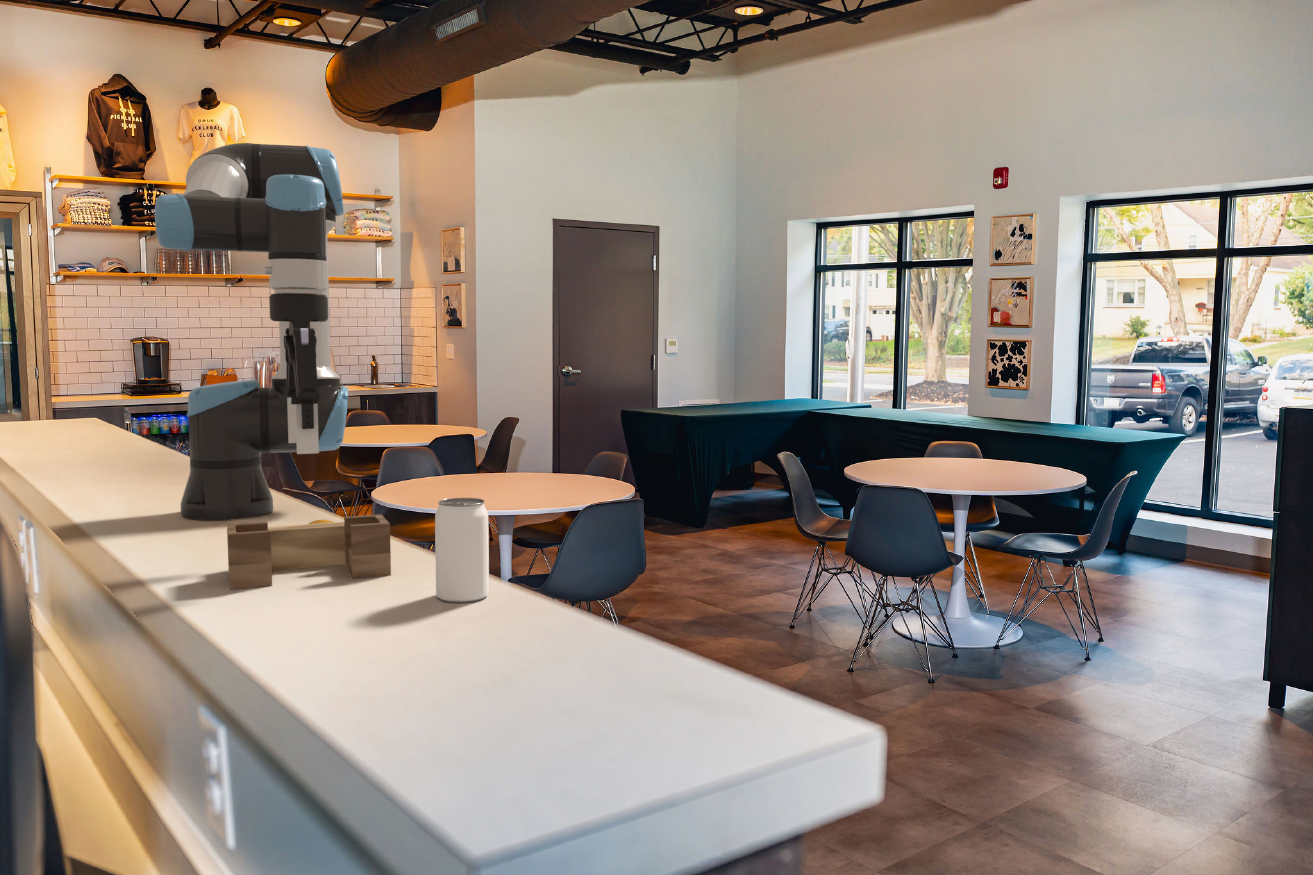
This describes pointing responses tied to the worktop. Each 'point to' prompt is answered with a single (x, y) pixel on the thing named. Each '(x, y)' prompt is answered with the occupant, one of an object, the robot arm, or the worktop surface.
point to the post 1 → (249, 555)
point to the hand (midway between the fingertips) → (303, 448)
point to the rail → (307, 545)
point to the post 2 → (367, 546)
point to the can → (462, 550)
